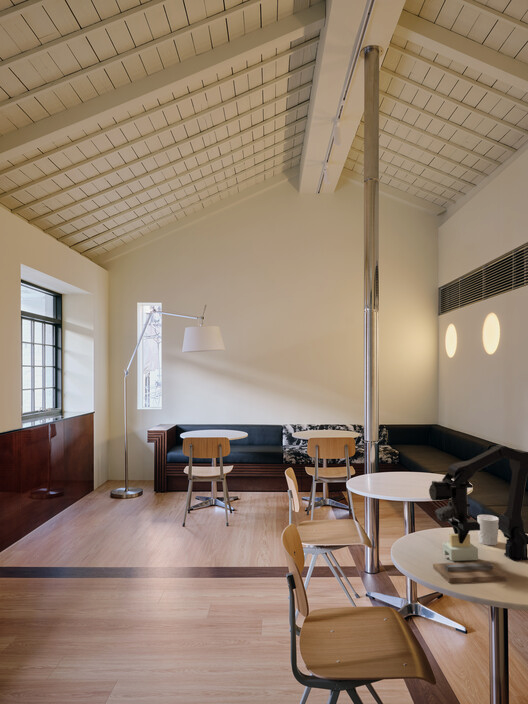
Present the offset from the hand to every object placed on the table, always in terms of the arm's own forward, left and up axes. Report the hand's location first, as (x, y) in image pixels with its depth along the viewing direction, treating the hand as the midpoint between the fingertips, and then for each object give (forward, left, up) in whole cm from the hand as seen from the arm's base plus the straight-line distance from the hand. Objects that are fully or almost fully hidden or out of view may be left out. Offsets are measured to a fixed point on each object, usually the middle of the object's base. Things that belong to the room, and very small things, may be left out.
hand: (459, 542), depth 181 cm
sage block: (0, 0, -5) cm, 5 cm away
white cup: (-20, -16, -7) cm, 27 cm away
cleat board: (+3, +12, -6) cm, 14 cm away
